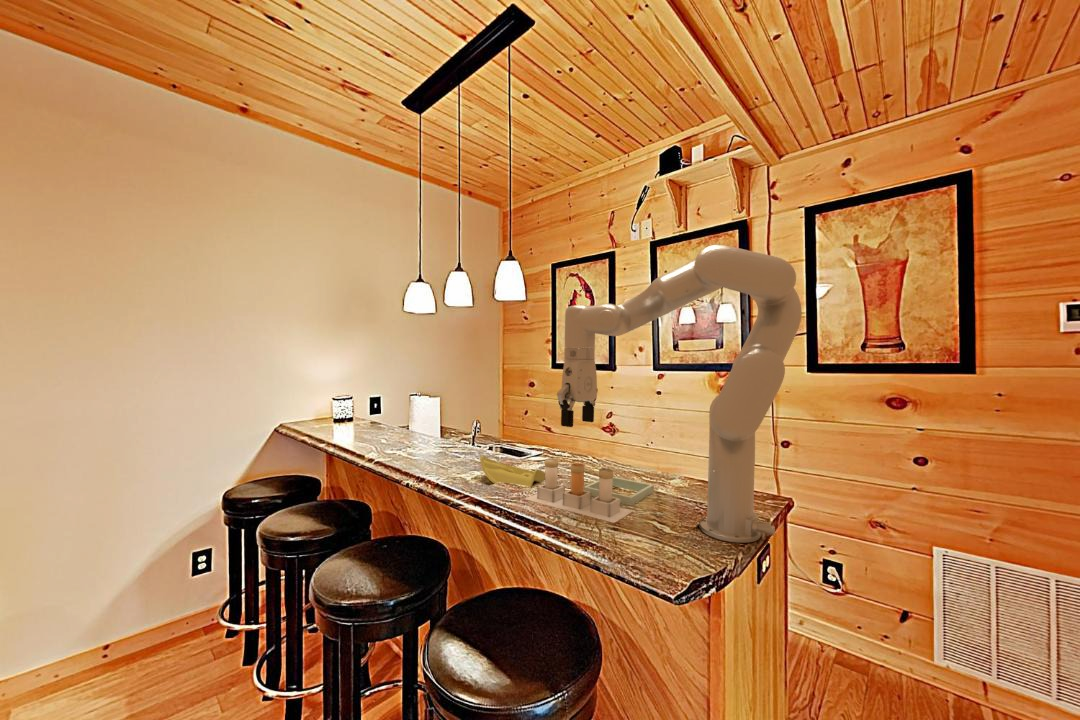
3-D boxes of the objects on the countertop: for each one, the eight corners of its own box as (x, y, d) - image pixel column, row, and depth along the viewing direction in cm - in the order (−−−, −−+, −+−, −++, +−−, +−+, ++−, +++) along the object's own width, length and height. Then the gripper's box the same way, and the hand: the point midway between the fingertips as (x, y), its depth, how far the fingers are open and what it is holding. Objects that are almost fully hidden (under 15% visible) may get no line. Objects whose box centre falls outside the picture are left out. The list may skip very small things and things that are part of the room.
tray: (653, 497, 127) (653, 484, 127) (631, 511, 116) (631, 497, 116) (608, 487, 136) (608, 475, 135) (583, 499, 124) (583, 486, 124)
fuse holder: (546, 495, 128) (546, 478, 128) (633, 516, 112) (633, 498, 112) (523, 504, 120) (524, 487, 120) (614, 529, 104) (614, 509, 104)
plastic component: (548, 475, 140) (535, 467, 132) (541, 499, 137) (527, 493, 129) (494, 461, 149) (478, 454, 141) (486, 484, 147) (470, 477, 138)
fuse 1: (560, 497, 121) (560, 459, 121) (552, 501, 118) (553, 462, 118) (549, 495, 123) (550, 457, 123) (541, 498, 120) (542, 460, 120)
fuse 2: (614, 511, 112) (615, 470, 111) (608, 515, 109) (609, 473, 109) (602, 508, 114) (603, 467, 113) (595, 512, 111) (596, 470, 111)
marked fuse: (586, 504, 116) (587, 464, 116) (579, 507, 114) (579, 467, 113) (574, 501, 118) (575, 462, 118) (567, 504, 116) (568, 465, 115)
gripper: (573, 356, 106) (571, 430, 106) (609, 355, 120) (607, 421, 120) (546, 355, 110) (545, 426, 111) (584, 355, 124) (583, 418, 125)
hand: (577, 423), depth 116 cm, fingers open, 9 cm apart
